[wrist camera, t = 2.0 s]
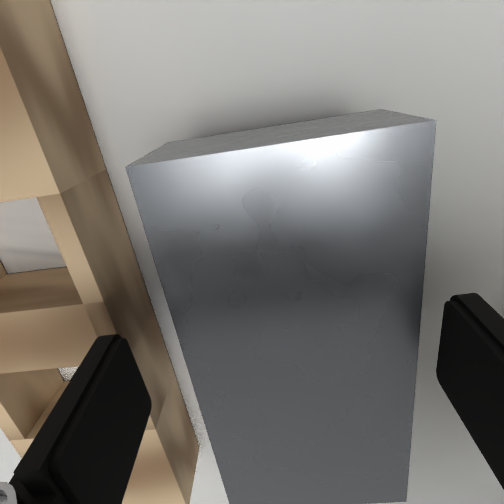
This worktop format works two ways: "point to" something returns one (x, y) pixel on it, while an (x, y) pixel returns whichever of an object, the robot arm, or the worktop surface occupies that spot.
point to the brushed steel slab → (298, 297)
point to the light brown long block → (74, 261)
